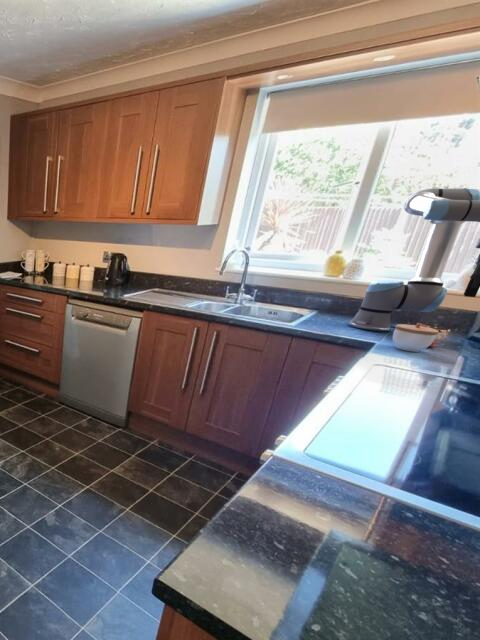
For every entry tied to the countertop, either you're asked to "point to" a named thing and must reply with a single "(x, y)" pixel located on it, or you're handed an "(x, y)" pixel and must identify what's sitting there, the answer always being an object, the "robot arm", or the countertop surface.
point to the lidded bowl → (413, 337)
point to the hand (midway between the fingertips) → (468, 296)
